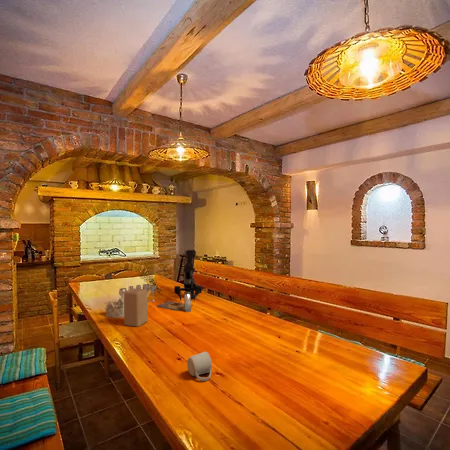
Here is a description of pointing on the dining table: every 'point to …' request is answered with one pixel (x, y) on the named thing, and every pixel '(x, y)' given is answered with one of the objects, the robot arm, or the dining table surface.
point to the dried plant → (149, 278)
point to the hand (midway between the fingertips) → (187, 300)
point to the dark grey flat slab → (172, 305)
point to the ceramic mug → (200, 365)
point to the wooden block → (135, 307)
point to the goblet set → (145, 286)
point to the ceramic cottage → (115, 308)
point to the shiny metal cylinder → (187, 301)
